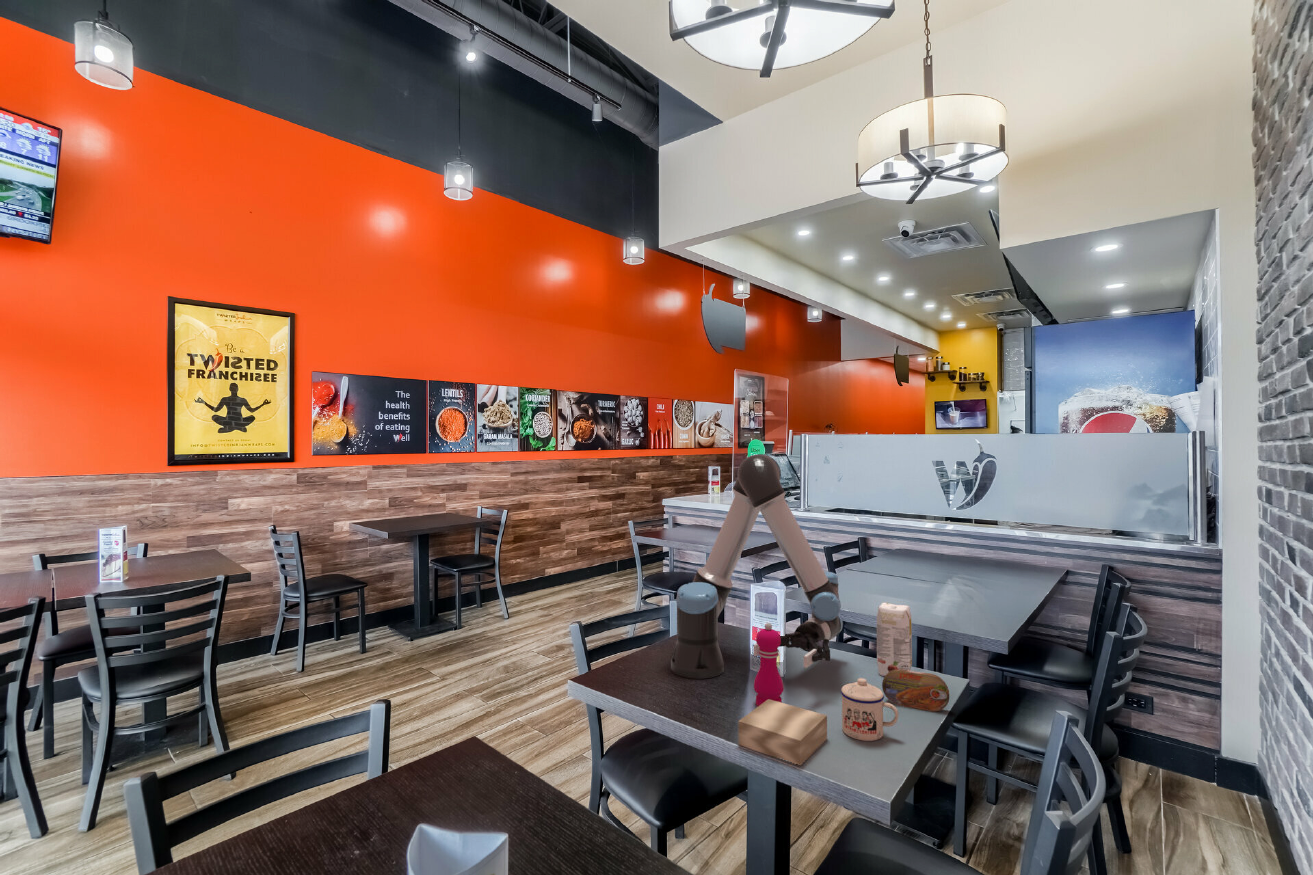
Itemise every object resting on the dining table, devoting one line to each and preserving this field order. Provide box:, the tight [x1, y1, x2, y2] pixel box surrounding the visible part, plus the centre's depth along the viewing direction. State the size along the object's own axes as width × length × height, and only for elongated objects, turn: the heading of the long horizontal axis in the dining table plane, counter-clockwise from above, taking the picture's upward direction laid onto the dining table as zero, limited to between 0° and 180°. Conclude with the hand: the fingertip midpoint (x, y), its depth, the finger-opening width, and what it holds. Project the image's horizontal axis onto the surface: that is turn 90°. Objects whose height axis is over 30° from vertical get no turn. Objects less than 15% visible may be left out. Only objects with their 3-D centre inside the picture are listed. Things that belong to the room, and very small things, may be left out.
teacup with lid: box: [840, 677, 899, 742], centre depth 132 cm, size 12×9×12 cm
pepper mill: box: [753, 622, 785, 707], centre depth 147 cm, size 7×7×20 cm
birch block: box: [737, 699, 828, 766], centre depth 128 cm, size 14×14×5 cm
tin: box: [881, 669, 950, 712], centre depth 146 cm, size 15×3×8 cm, turn 62°
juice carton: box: [876, 602, 913, 677], centre depth 166 cm, size 8×9×19 cm
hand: (779, 656), depth 150 cm, fingers open, 13 cm apart
